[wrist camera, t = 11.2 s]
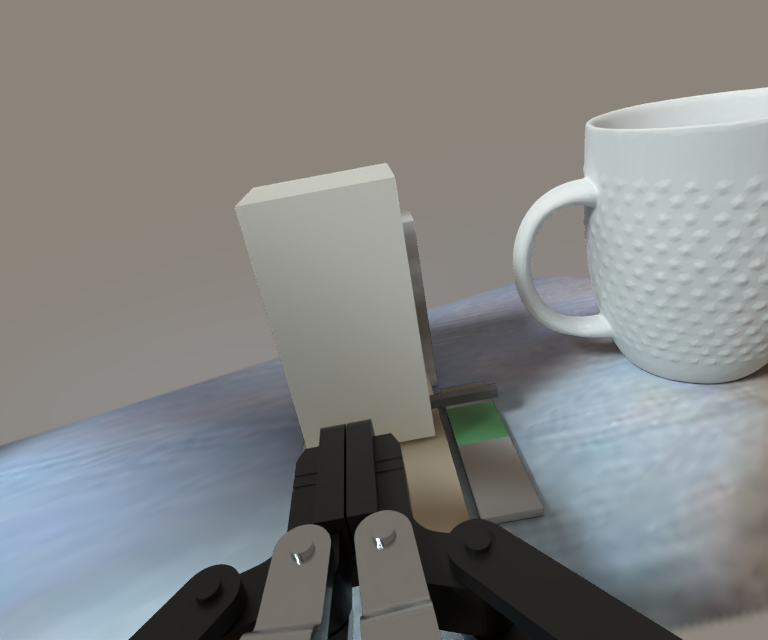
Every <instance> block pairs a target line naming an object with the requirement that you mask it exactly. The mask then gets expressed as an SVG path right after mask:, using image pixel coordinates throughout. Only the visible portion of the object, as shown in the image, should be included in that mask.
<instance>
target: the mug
mask: <svg viewBox="0 0 768 640" xmlns="http://www.w3.org/2000/svg"><path fill="white" fill-rule="evenodd" d="M583 171H584V178H583V179H579V180H574V181H571V182H567V183H565V184H562V185H560V186H558V187H556V188H554V189H552V190H550V191H549V192H547V193H546V194H544V195H543V196H542V197H541V198H539V199H538V200H537V201H536V202H535V203H534V204H533V206H532V207H531V208H530V209H529V211H528V212H527V214H526V215H525V217H524V219H523V221H522V223H521V225H520V228H519V230H518V233H517V236H516V239H515V244H514V250H513V271H514V278H515V283H516V287H517V290H518V293H519V296H520V298H521V300H522V302H523V304H524V306H525V307H526V309H527V310H528V311H529V313H530V314H531V315H532V316H533V317H534V318H535V319H536V320H537V321H538V322H539V323H541V324H542V325H544V326H545V327H547V328H549V329H551V330H554V331H556V332H559V333H563V334H567V335H572V336H579V337H592V338H607V337H612V339H613V340H614V342H615V343H616V345H617V347H618V348H619V349H620V351H621V352H622V353H623V354H624V355H625V357H626V358H628V359H629V360H630V361H631V362H632V363H633V364H635V365H636V366H638V367H639V368H641V369H643V370H645V371H647V372H649V373H651V374H654V375H657V376H660V377H663V378H666V379H670V380H676V381H682V382H689V383H706V384H712V383H722V382H729V381H733V380H737V379H740V378H743V377H745V376H748V375H750V374H752V373H754V372H755V371H757V370H758V369H760V368H761V367H763V366H764V365H765V364H766V363H768V88H759V89H750V90H739V91H732V92H722V93H714V94H706V95H700V96H693V97H685V98H679V99H672V100H665V101H660V102H654V103H648V104H643V105H638V106H632V107H628V108H624V109H620V110H616V111H613V112H609V113H606V114H603V115H600V116H597V117H595V118H593V119H591V120H589V121H588V122H587V123H586V127H585V158H584V168H583ZM578 205H581V206H584V225H585V239H586V249H587V257H588V259H587V262H588V266H589V272H590V276H591V284H592V287H593V292H594V294H595V298H596V301H597V306H598V308H599V311H600V313H599V314H597V315H592V316H583V317H582V316H568V315H563V314H560V313H558V312H555V311H553V310H552V309H550V308H549V307H548V306H547V305H546V304H545V303H544V302H543V301H542V300H541V298H540V297H539V295H538V293H537V291H536V288H535V286H534V283H533V279H532V273H531V257H532V250H533V245H534V242H535V239H536V236H537V234H538V232H539V230H540V228H541V226H542V225H543V223H544V222H545V221H546V220H547V219H548V218H549V217H550V216H551V215H553V214H554V213H555V212H557V211H559V210H561V209H563V208H566V207H570V206H578Z"/></svg>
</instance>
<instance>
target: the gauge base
mask: <svg viewBox="0 0 768 640" xmlns="http://www.w3.org/2000/svg"><path fill="white" fill-rule="evenodd" d="M400 213H401V219H402V225H403V232H404V238H405V245H406V251H407V257H408V264H409V270H410V276H411V283H412V289H413V296H414V302H415V308H416V315H417V321H418V328H419V334H420V340H421V347H422V353H423V360H424V366H425V372H426V379H427V385H428V392H429V395H434V394H433V390H432V386H437V385H438V383H437V376H436V369H435V363H434V356H433V349H432V342H431V335H430V328H429V321H428V315H427V308H426V301H425V295H424V287H423V281H422V273H421V267H420V260H419V253H418V246H417V239H416V233H415V226H414V220H413V218H412V217H411V215H410V213H409V211H408V210H406V211H401V212H400ZM483 385H485V384H484V382H483V381H480V382H475V383H469V384H464V385H458V386H453V387H448V388H442V389H440V393H444V392H450V391H455V390H461V389H466V388H472V387H477V386H483ZM445 410H446V413H447V416H448V419H449V422H450V426H451V429H452V432H453V435H454V438H455V442H456V445H457V448H458V451H459V454H460V457H461V461H462V464H463V467H464V470H465V473H466V476H467V480H468V483H469V486H470V489H471V492H472V496H473V499H474V502H475V505H476V508H477V511H478V515H479V518H480V519H483V520H488V521H491V522H493V523H495V524H498V523H503V522H509V521H515V520H520V519H526V518H531V517H537V516H542V515H544V508H543V506H542V504H541V502H540V499H539V497H538V495H537V493H536V491H535V489H534V487H533V485H532V483H531V481H530V478H529V476H528V474H527V472H526V470H525V468H524V466H523V464H522V462H521V460H520V457H519V455H518V453H517V451H516V449H515V447H514V445H513V443H512V441H511V439H510V436H509V434H508V432H507V430H506V428H505V426H504V424H503V422H502V420H501V418H500V415H499V413H498V411H497V409H496V407H495V405H494V403H493V401H492V399H491V398H490V399H484V400H479V401H474V402H468V403H463V404H457V405H452V406H446V407H445ZM431 411H432V417H433V424H434V430H435V436H431V437H425V438H420V439H414V440H409V441H403V442H399V443H400V446H401V451H402V456H403V461H404V466H405V471H406V476H407V481H408V487H409V494H410V500H411V506H412V512H413V518H414V519H415V520H416V522H418V523H419V524H420V525H421V526H423V527H424V528H427V529H429V530H432V531H437V532H445V533H450V532H451V531H452V529H453V528H454V527H456V526H457V525H458V524H460V523H462V522H464V521H467V520H470V517H469V514H468V511H467V507H466V504H465V500H464V497H463V493H462V490H461V486H460V483H459V480H458V476H457V473H456V469H455V466H454V462H453V459H452V456H451V452H450V449H449V445H448V442H447V438H446V435H445V432H444V428H443V425H442V421H441V418H440V414H439V411H438V408H435V409H431ZM305 449H307V447H306V444H305V440H304V445H303V452H304V450H305Z"/></svg>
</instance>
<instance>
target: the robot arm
mask: <svg viewBox="0 0 768 640" xmlns="http://www.w3.org/2000/svg"><path fill="white" fill-rule="evenodd" d="M356 586H360V595H361V604H362V617H360V627H361V637H362V640H442V639H441V635H440V631H439V630H444V631H450V632H455V633H461V634H462V636H463V638H464V639H465V640H682V639H681V638H679V637H678V636H676V635H674V634H673V633H671V632H670V631H668V630H666V629H665V628H663V627H662V626H660V625H658V624H657V623H655V622H653V621H652V620H650V619H649V618H647V617H645V616H644V615H642V614H641V613H639V612H637V611H636V610H634V609H632V608H631V607H629V606H628V605H626V604H624V603H623V602H621V601H620V600H618V599H616V598H615V597H613V596H612V595H610V594H608V593H607V592H605V591H603V590H602V589H600V588H599V587H597V586H595V585H594V584H592V583H591V582H589V581H587V580H586V579H584V578H582V577H581V576H579V575H578V574H576V573H574V572H573V571H571V570H570V569H568V568H566V567H565V566H563V565H562V564H560V563H558V562H557V561H555V560H553V559H552V558H550V557H549V556H547V555H545V554H544V553H542V552H541V551H539V550H537V549H536V548H534V547H533V546H531V545H529V544H528V543H526V542H524V541H523V540H521V539H520V538H518V537H516V536H515V535H513V534H512V533H510V532H508V531H507V530H505V529H503V528H502V527H500V526H499V525H497V524H495V523H493V522H491V521H488V520H483V519H471V520H467V521H464V522H462V523H460V524H458V525H457V526H456V527H454V528H453V529H452V531H451V532H450V533H445V532H437V531H432V530H429V529H427V528H424V527H423V526H421V525H420V524H419V523H418V522H416V520H415V519H414V518H413V512H412V506H411V500H410V494H409V487H408V481H407V476H406V471H405V466H404V461H403V456H402V451H401V446H400V443H399V442H398V440H397V439H396V438H395V437H394V436H393V435H392V433H388V434H383V435H377V436H375V433H374V429H373V424H372V420H371V419H368V420H362V421H357V422H351V423H347V425H346V424H341V425H336V426H330V427H325V428H321V429H320V437H319V446H318V447H313V448H307V449H305V450H304V452H303V453H302V455H301V456H300V458H299V459H298V461H297V463H296V470H295V479H294V485H293V493H292V500H291V508H290V515H289V523H288V530H287V533H286V534H285V535H283V537H282V538H281V539H280V540H279V541H278V543H277V544H276V546H275V548H274V551H273V555H272V557H271V558H270V559H268V560H267V561H265V562H264V563H262V564H260V565H258V566H256V567H254V568H252V569H249V570H247V571H245V572H243V573H241V574H239V573H238V572H237V570H236V569H235V568H233V567H232V566H229V565H223V564H220V565H214V566H211V567H208V568H206V569H204V570H202V571H200V572H199V573H197V574H196V575H195V576H193V577H192V578H191V579H190V580H189V581H188V582H187V583H186V584H185V585H184V586H183V587H182V588H181V589H180V590H179V591H178V592H177V593H176V594H175V595H174V596H173V597H172V598H171V599H170V600H169V601H168V602H167V603H166V604H165V605H164V606H163V607H161V608H160V609H159V610H158V611H157V612H156V613H155V614H154V615H153V616H152V617H151V618H150V619H149V620H148V621H147V622H146V623H145V624H144V625H143V626H142V627H141V628H140V629H139V630H138V631H137V632H136V633H135V634H134V635H133V636H132V637H131V638H130V639H129V640H353V626H354V615H353V610H352V587H356Z"/></svg>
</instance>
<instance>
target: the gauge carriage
mask: <svg viewBox="0 0 768 640" xmlns="http://www.w3.org/2000/svg"><path fill="white" fill-rule="evenodd" d="M235 210H236V213H237V217H238V220H239V223H240V227H241V230H242V233H243V237H244V240H245V243H246V247H247V250H248V253H249V256H250V260H251V263H252V267H253V270H254V273H255V276H256V280H257V283H258V287H259V290H260V293H261V297H262V300H263V303H264V307H265V310H266V314H267V317H268V320H269V323H270V327H271V330H272V334H273V337H274V340H275V344H276V347H277V350H278V353H279V357H280V360H281V364H282V367H283V370H284V374H285V377H286V380H287V384H288V387H289V390H290V394H291V397H292V400H293V404H294V407H295V410H296V414H297V417H298V420H299V424H300V427H301V430H302V434H303V437H304V440H305V444H306V447H307V448H313V447H318V446H319V437H320V429H321V428H325V427H330V426H336V425H341V424H346V425H347V423H351V422H357V421H362V420H368V419H371V420H372V424H373V429H374V433H375V436H377V435H383V434H388V433H392V435H393V436H394V437H395V438H396V439H397V440H398V442H403V441H409V440H414V439H420V438H425V437H431V436H435V430H434V424H433V417H432V411H431V409H435V408H441V407H446V406H452V405H457V404H463V403H468V402H474V401H479V400H484V399H490V398H495V397H498V391H497V387H496V385H495V383H493V384H488V385H483V386H477V387H472V388H466V389H461V390H455V391H450V392H444V393H439V394H434V395H429V392H428V385H427V379H426V372H425V366H424V360H423V353H422V347H421V340H420V334H419V328H418V321H417V315H416V308H415V302H414V296H413V289H412V283H411V276H410V270H409V264H408V257H407V251H406V245H405V238H404V232H403V225H402V219H401V213H400V206H399V200H398V193H397V187H396V181H395V176H394V175H393V173H392V171H391V169H390V168H389V166H388V164H387V163H384V164H378V165H373V166H367V167H362V168H357V169H351V170H346V171H341V172H335V173H330V174H325V175H320V176H314V177H309V178H304V179H299V180H293V181H288V182H282V183H277V184H271V185H266V186H261V187H256V188H253V189H252V190H251V191H250V192H249V193H248V194H247V195H246V196H245V197H244V198H243V199H242V200H241V201H240V202H239V203H238V204H237V205H236V206H235Z"/></svg>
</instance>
